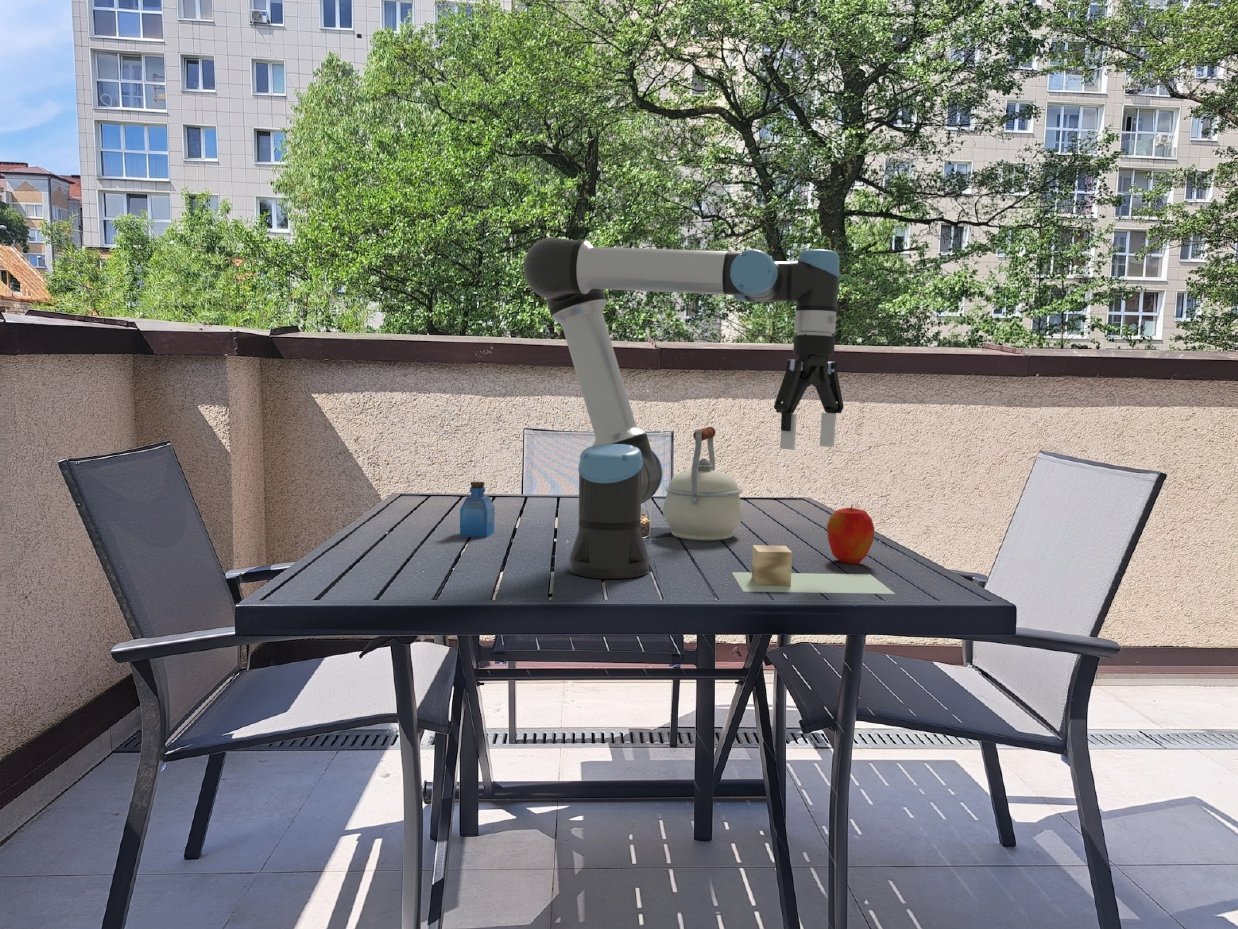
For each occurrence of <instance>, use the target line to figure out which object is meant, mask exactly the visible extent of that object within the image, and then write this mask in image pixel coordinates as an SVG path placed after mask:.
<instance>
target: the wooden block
mask: <svg viewBox="0 0 1238 929" xmlns="http://www.w3.org/2000/svg"><path fill="white" fill-rule="evenodd" d="M751 548H752V549H751V551H752V553H751V554H752V555H751V573H752V579H753V581H754V582H755V583H756V585H768V586H791V573H792V566H793V565H792V564H793V563H792V562H793V551H792V550H791V549H790V548H788V547H787V546H786V545H770V544H769V545H763V544H762V545H760V544H759V545H757V544H753V545H752V547H751Z"/></svg>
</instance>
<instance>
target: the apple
mask: <svg viewBox="0 0 1238 929" xmlns="http://www.w3.org/2000/svg"><path fill="white" fill-rule="evenodd" d="M826 531H827V532H826V533H827V540H828V544H829V547H830V551H831V553H832V555H833V557H834V558H836V559H837V560H838V561H839V563H843V564H849V565H850V564H851V565H852V564H853V565H859V564H860V563H861V562H862V561H863V560H864V559H865V558H866V557H867V556H868V553H869V551H870V549H871V547H872V544H873V543H874V536H875V534H874V533H875V525H874V523H873V518H871V516H870V515H869V513H868V512H867V511H866V510H864V509H859V508H856V507H853V504H852V503H851V507H846V508H841V509H837V510H836V511H835V512H833V513H832V514H831V515H830V517H829V519H828V522H827V524H826Z"/></svg>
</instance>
